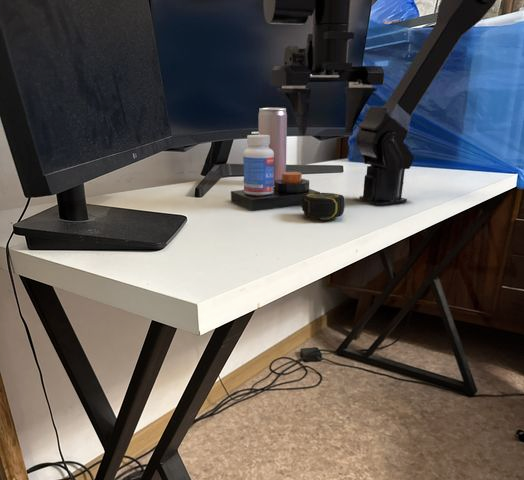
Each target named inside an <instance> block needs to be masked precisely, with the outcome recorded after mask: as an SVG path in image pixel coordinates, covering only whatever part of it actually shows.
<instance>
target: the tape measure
mask: <svg viewBox="0 0 524 480" xmlns="http://www.w3.org/2000/svg"><path fill="white" fill-rule="evenodd" d="M345 199H346V198H345V196H344V195H343V194H338V193H333V192H320V193H305V194H303V195H302V199H301V205H300V206H301V211H302V212H303V214H304V215H305V216H307V217H310V218H316V219H319V220H320V221H331V220H332V219H333V218H338V217H341V216H343V214H344V211H345V203H346V202H345Z"/></svg>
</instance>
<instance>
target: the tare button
mask: <svg viewBox="0 0 524 480" xmlns="http://www.w3.org/2000/svg"><path fill="white" fill-rule="evenodd" d="M301 179H303V178H302V172H300V171H286V172H284V173H282V182H283V183H300V182H301Z"/></svg>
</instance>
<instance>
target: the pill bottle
mask: <svg viewBox="0 0 524 480" xmlns="http://www.w3.org/2000/svg"><path fill="white" fill-rule="evenodd" d="M246 141H247V142H246V144H247V146H248V148H245V149H244V151H243V155H242V157H243V190H244V193H245V194H248V195H256V196H262V195H269V194H272V193H273V190H274V152H273V150H272V149H270V148H269V144H270V135H259V134H249V135H247V136H246Z"/></svg>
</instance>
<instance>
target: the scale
mask: <svg viewBox="0 0 524 480" xmlns="http://www.w3.org/2000/svg"><path fill="white" fill-rule="evenodd" d="M305 193H321V192H320V191H318V190H314V189H311V188H310V180H309V179H305V178H302V179H301V182H300V183H283V182H282V179H278V180H275V181H274V190H273V193H272V194H269V195H262V196H256V195H248V194H245V193H244V189H239V190H230V201H231V203H234V204H236V205H238V206H240V207H242V208H245V209H248V210H249V211H252V212H255V211H261V210H262V211H263V210H270V209H278V208H286V207H287V208H288V207H295V206H301V199H302V195H303V194H305Z"/></svg>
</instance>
